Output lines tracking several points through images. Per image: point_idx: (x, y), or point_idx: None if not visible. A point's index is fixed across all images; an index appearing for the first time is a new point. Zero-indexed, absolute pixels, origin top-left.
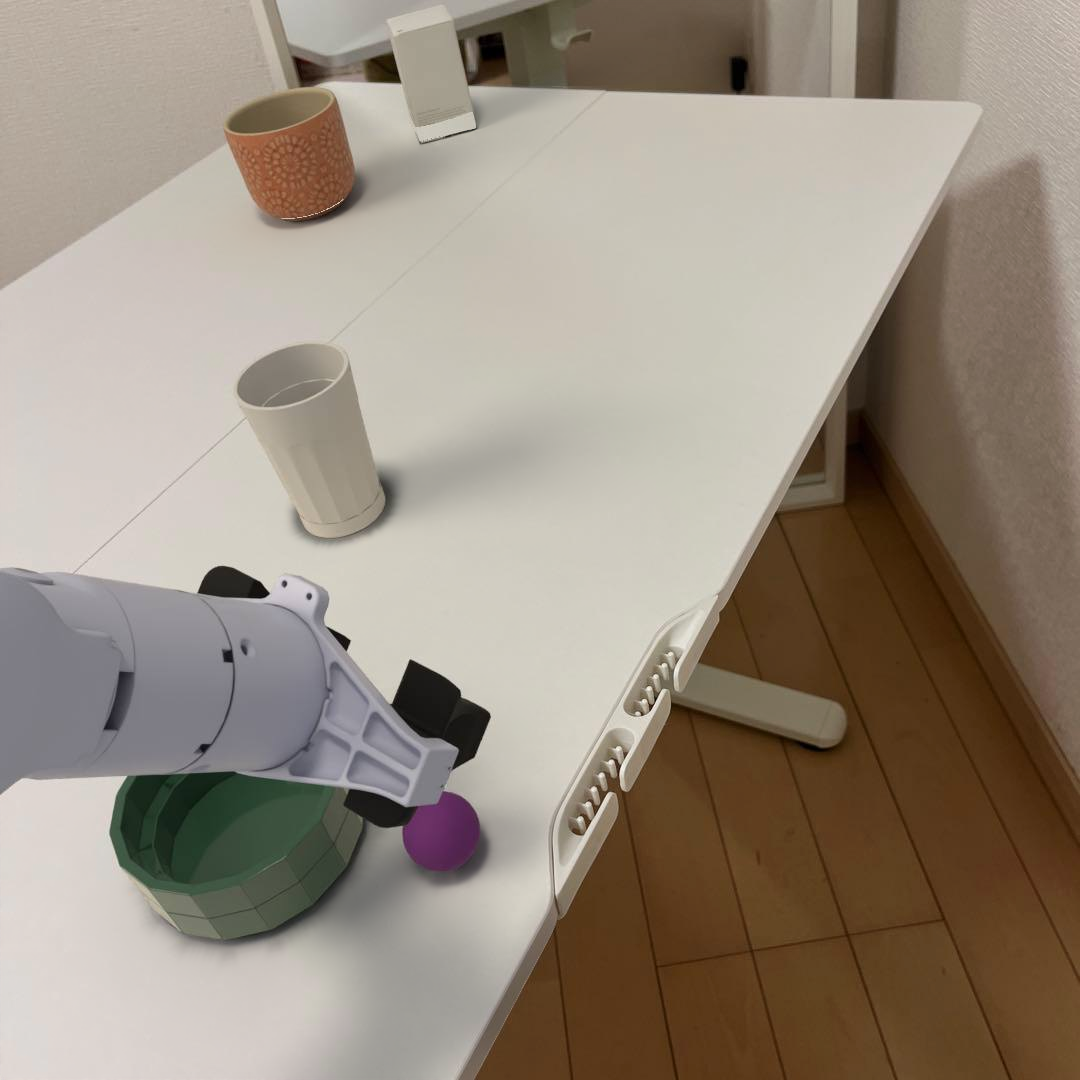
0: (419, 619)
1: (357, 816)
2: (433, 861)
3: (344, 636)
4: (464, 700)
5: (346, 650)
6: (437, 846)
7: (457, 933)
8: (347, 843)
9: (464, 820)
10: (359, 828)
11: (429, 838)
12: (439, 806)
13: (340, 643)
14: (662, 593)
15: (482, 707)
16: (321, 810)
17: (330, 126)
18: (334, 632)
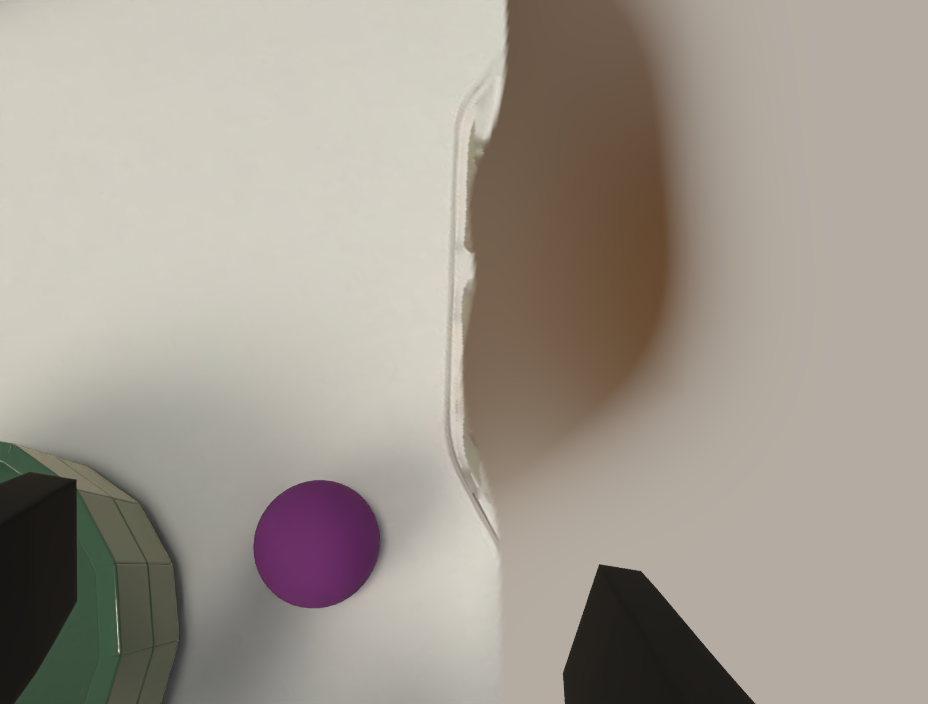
0: (87, 185)
1: (161, 563)
2: (334, 602)
3: (51, 496)
4: (727, 701)
5: (75, 512)
6: (338, 588)
7: (398, 663)
8: (167, 614)
9: (361, 529)
10: (170, 572)
11: (322, 584)
12: (316, 530)
13: (47, 521)
14: (436, 63)
15: (668, 603)
16: (113, 635)
17: None
18: (10, 524)
